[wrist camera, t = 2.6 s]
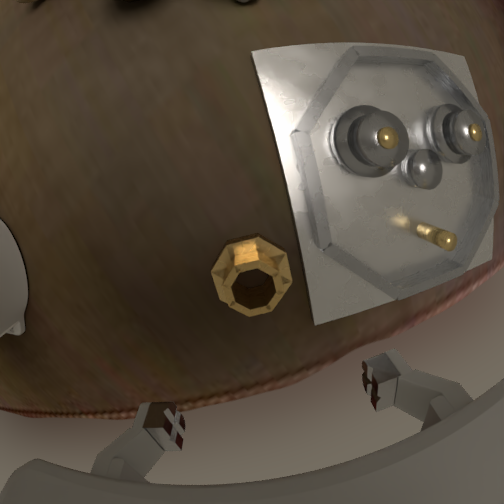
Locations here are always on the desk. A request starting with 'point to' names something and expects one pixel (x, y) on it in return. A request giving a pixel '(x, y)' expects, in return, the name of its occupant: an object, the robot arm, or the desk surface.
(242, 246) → the flanged octagonal bushing
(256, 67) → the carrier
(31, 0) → the stone disc
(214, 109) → the desk surface
